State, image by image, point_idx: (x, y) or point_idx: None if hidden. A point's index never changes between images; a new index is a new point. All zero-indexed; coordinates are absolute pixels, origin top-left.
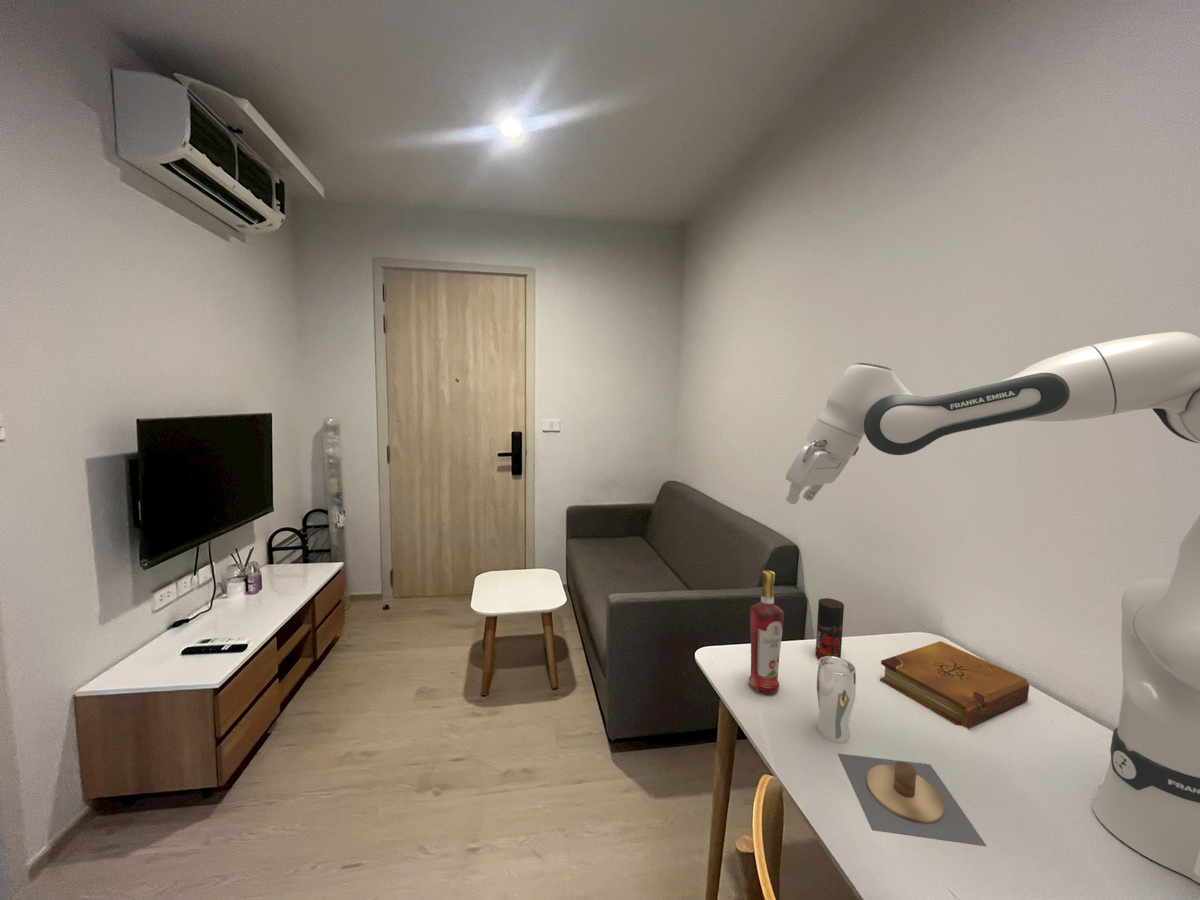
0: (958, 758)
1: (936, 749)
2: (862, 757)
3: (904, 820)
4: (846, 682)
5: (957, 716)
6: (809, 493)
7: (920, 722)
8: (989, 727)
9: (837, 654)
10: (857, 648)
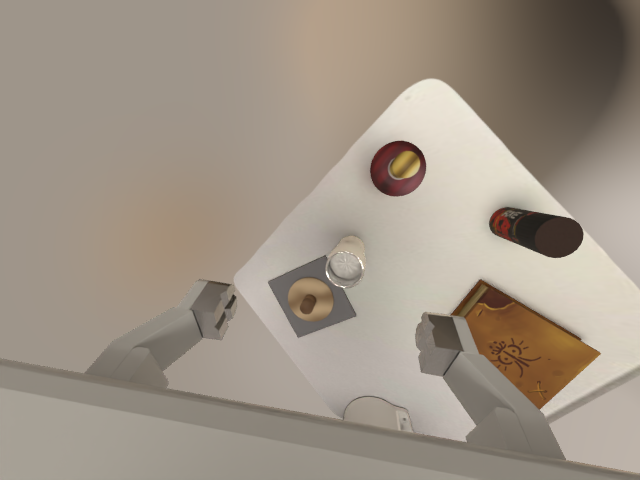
0: (381, 333)
1: (383, 320)
2: None
3: (287, 298)
4: (331, 277)
5: None
6: (429, 353)
7: (417, 312)
8: None
9: (500, 236)
10: None
